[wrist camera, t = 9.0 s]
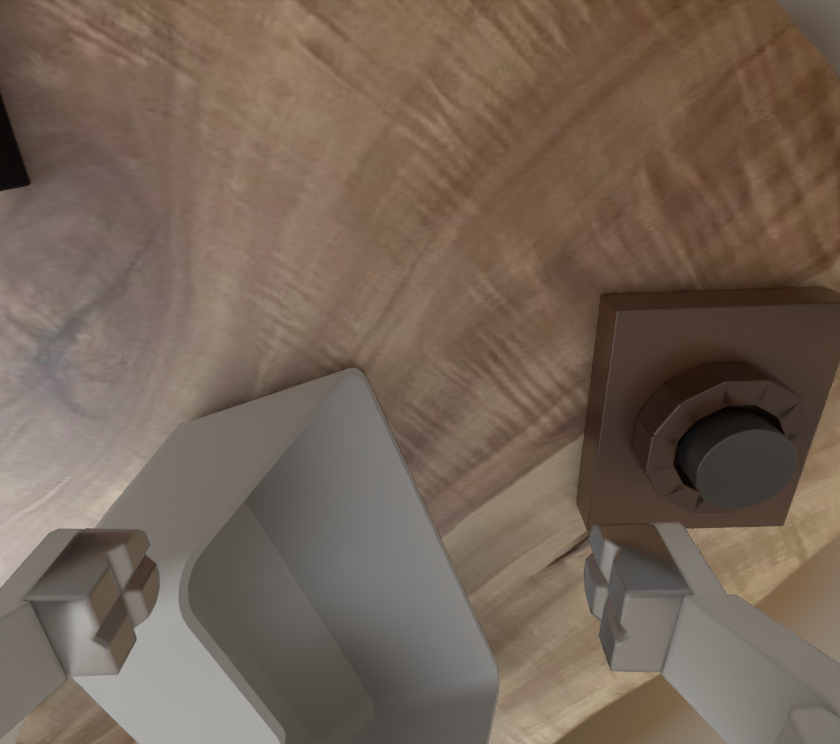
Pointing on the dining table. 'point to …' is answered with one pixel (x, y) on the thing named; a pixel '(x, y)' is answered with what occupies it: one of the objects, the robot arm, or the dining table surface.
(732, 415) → the button
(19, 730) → the white tapered cylinder
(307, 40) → the dining table surface
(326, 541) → the grey storage bin
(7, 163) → the panel
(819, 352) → the button block
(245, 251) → the dining table surface
